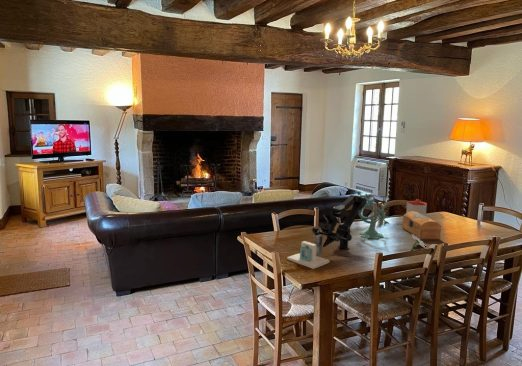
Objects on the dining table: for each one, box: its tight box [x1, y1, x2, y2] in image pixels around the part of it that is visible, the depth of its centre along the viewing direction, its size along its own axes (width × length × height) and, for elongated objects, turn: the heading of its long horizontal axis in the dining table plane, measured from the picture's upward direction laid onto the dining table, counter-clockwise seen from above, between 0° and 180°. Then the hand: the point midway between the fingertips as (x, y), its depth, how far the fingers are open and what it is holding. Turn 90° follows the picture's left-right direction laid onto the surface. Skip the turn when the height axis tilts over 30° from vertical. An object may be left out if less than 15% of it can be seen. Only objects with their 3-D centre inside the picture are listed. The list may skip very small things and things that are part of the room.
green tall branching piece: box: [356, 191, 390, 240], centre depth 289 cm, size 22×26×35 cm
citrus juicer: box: [405, 199, 428, 217], centre depth 330 cm, size 16×17×20 cm
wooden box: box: [401, 211, 442, 240], centre depth 299 cm, size 30×16×14 cm, turn 4°
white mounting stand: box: [286, 240, 330, 270], centre depth 237 cm, size 15×20×11 cm
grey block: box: [307, 235, 323, 256], centre depth 240 cm, size 12×3×12 cm, turn 134°
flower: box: [410, 233, 426, 251], centre depth 264 cm, size 13×6×30 cm
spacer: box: [299, 247, 312, 261], centre depth 235 cm, size 2×7×7 cm, turn 44°
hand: (319, 245), depth 243 cm, fingers open, 6 cm apart
